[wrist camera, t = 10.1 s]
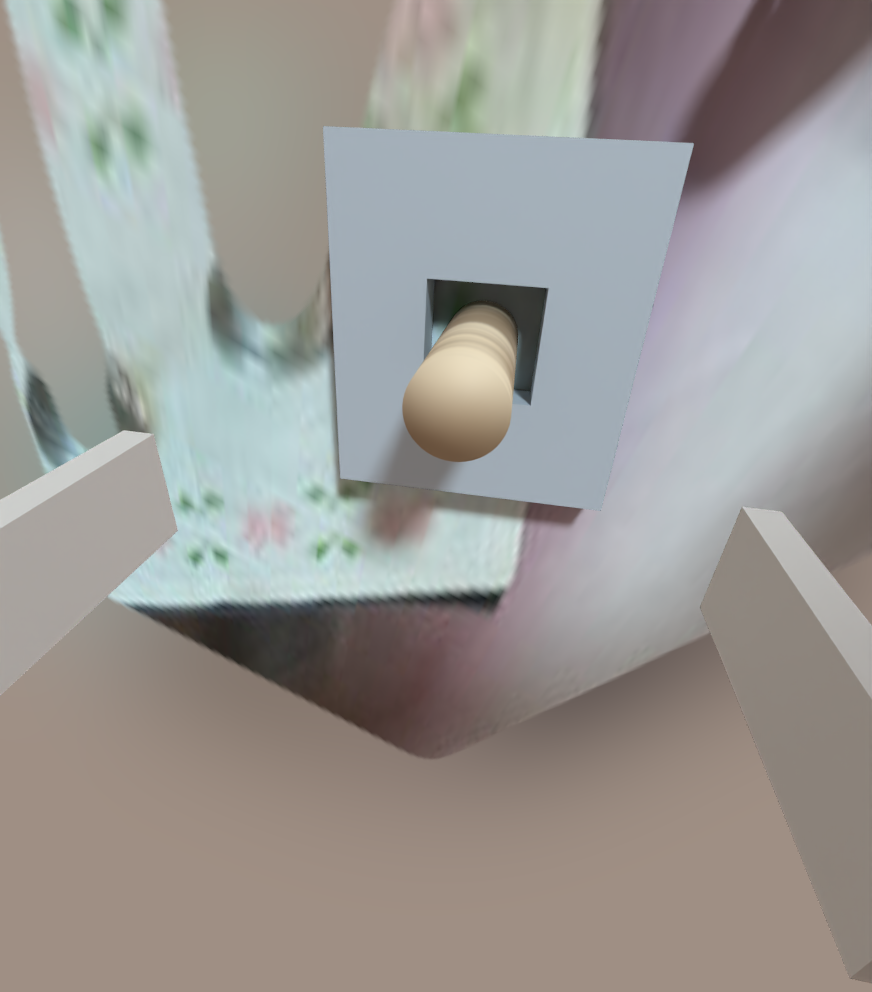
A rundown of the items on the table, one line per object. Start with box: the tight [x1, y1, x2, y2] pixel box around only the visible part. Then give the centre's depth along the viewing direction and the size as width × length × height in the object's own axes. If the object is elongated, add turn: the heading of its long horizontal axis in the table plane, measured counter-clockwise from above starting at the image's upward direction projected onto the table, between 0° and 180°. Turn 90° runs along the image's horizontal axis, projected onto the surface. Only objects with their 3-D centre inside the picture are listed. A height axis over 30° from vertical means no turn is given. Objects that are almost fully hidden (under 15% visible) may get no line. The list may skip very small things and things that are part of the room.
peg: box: [402, 300, 518, 462], centre depth 24 cm, size 4×4×12 cm
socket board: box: [323, 126, 694, 511], centre depth 28 cm, size 18×16×2 cm
